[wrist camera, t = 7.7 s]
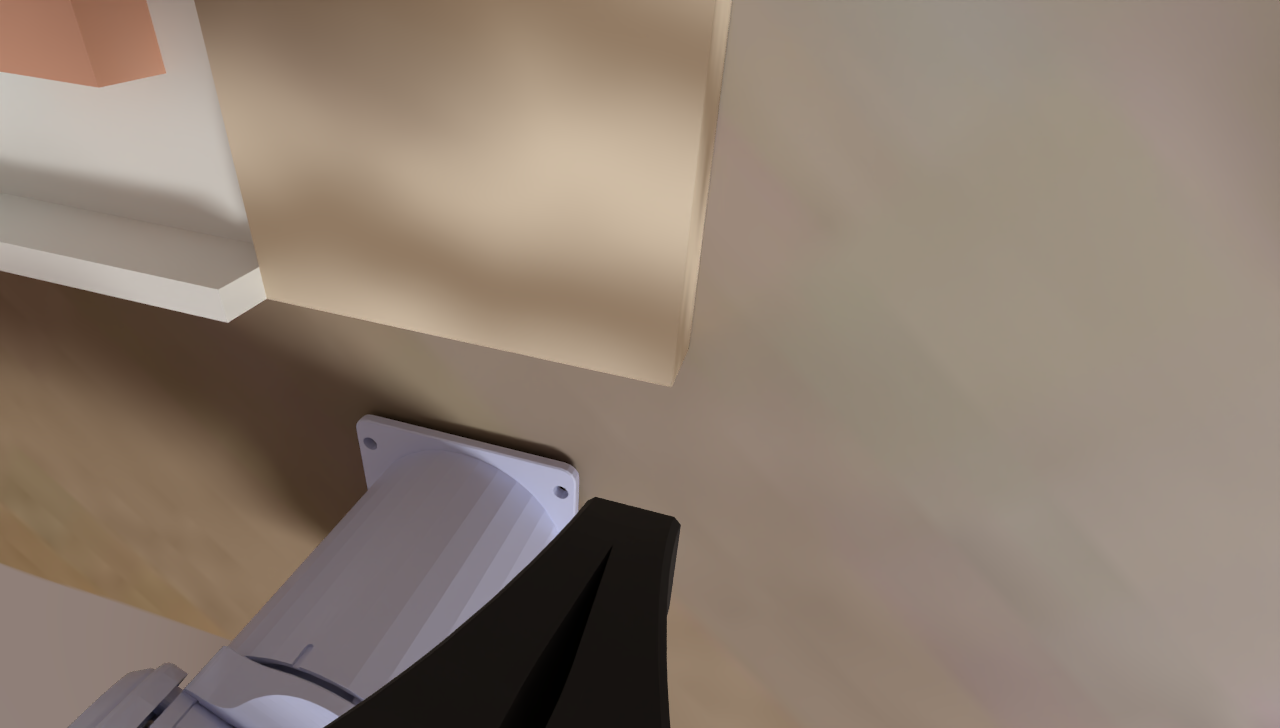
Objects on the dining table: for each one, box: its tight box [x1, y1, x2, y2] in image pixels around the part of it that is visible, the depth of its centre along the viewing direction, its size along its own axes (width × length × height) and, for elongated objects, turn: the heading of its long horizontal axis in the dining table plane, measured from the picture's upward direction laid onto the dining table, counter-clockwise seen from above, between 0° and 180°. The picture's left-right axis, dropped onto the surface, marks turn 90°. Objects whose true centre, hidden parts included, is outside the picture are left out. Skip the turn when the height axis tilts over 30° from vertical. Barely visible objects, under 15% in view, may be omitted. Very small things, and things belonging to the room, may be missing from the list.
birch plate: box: [194, 0, 732, 387], centre depth 16 cm, size 16×12×2 cm
